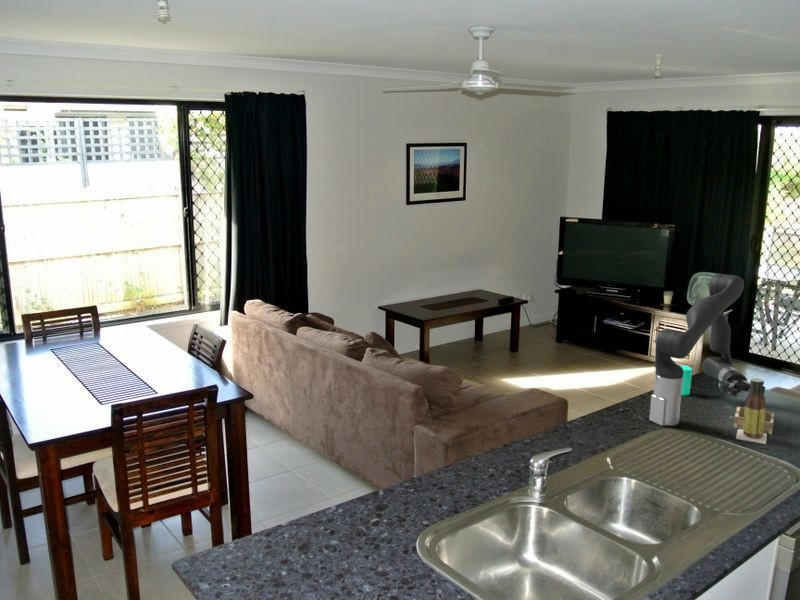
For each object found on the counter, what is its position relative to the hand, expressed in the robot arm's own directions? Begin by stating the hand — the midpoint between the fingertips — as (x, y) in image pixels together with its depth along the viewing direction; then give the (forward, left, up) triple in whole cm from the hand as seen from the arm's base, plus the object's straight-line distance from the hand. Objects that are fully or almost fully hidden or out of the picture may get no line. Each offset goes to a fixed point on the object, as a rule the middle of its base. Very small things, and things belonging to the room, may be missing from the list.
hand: (748, 394), depth 245 cm
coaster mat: (-3, -5, -13) cm, 14 cm away
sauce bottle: (-3, -5, -13) cm, 14 cm away
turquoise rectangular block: (+11, +38, -13) cm, 41 cm away
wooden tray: (+6, +1, -13) cm, 15 cm away
